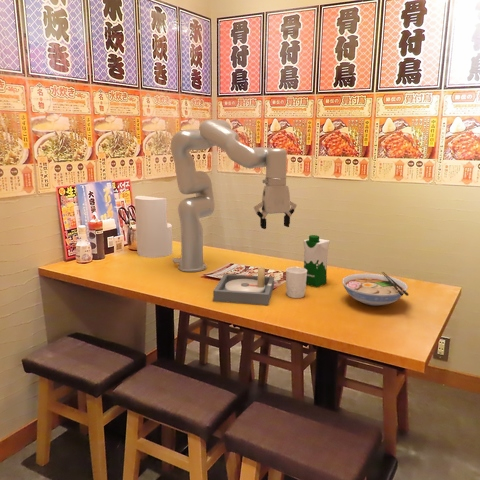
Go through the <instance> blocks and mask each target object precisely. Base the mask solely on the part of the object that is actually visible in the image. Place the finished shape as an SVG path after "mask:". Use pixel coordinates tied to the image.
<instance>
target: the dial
mask: <svg viewBox="0 0 480 480" xmlns="http://www.w3.org/2000/svg"><path fill="white" fill-rule="evenodd" d="M265 271H266V269H265V267H258V268H257V276H258V281H257V280H253V279H236V280H232V281H229V282H227V283H226V284H225V290H230V291H244V292H259V293H264V292H265V284H264V279H265V274H266V273H265Z"/></svg>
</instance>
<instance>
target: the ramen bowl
mask: <svg viewBox="0 0 480 480" xmlns="http://www.w3.org/2000/svg"><path fill="white" fill-rule="evenodd" d="M381 273H382V274H379V273H378V274H377V273H366V272H365V273H354V274H349V275H347V276H345V277H343V278H342V285H343V287H344V289H345V291H346V292H347V293H348V295H349V296H350V297H352V298H353V299H354V300H356V301H358V302H360V303H363V304H365V305H368V306H370V307H373V306H374V307H380V306H386V305H389V304H393V303H395V302H397V301H398V300H399V299H400V298H401V297H403V296H404V295H405V296H409V293H408V292H407V290H408V289H409V287H408V284H407V283H406V282H404V281H403V280H401V279H399V278H396V277H393V276H389V275H387V274H386V273H385V272H384V271H381Z"/></svg>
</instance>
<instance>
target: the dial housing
mask: <svg viewBox="0 0 480 480" xmlns="http://www.w3.org/2000/svg"><path fill="white" fill-rule="evenodd" d="M236 279H253V280H257V281H258V275H253V274H232V273H224V274H223V276H222V277H221V278H220V280H219V282H218V283H217V284H216V286H215V287H214V289H213V293H212V294H213V300H212V301H213V302H217V303H218V302H220V303H232V304H247V305H259V306H261V305H262V306H269V305H270V301H271V297H272V295H273V290H274V287H275V276H267V275H266V276H265V279H264V284H265V292H264V293H259V292H244V291H230V290H225V284H226V283H227V282H229V281H232V280H236Z"/></svg>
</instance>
